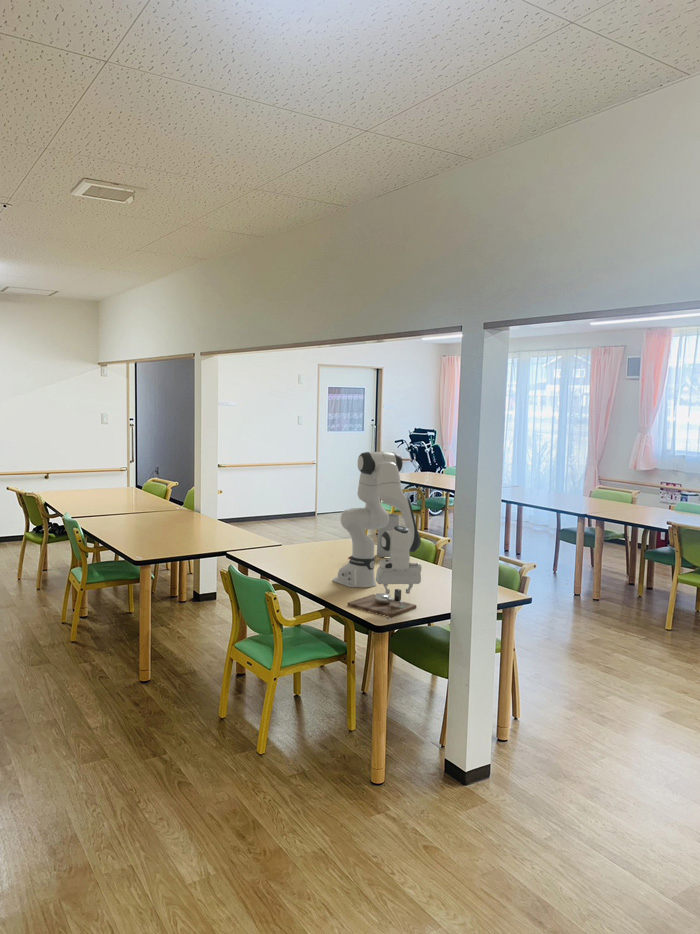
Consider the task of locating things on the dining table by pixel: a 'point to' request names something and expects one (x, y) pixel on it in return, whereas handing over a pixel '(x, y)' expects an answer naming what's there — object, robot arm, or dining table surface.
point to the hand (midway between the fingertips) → (397, 593)
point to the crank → (389, 598)
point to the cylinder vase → (391, 524)
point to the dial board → (381, 606)
